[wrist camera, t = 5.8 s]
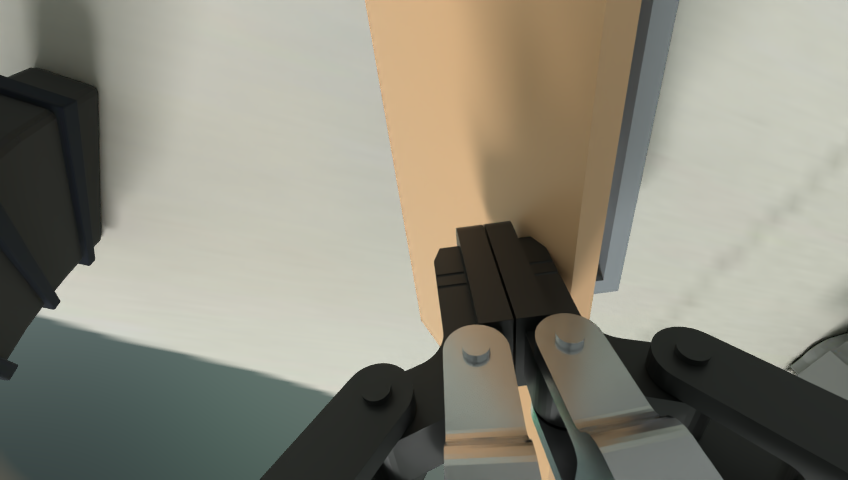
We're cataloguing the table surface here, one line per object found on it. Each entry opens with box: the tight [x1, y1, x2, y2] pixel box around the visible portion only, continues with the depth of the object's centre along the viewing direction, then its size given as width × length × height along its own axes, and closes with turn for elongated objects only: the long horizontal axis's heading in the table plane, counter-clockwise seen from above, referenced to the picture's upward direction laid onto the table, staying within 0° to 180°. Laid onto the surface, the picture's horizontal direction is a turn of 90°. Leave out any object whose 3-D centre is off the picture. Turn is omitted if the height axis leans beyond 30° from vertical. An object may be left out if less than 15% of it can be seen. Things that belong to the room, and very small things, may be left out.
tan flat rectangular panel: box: [365, 0, 642, 480], centre depth 14 cm, size 22×11×1 cm
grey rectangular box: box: [594, 0, 679, 294], centre depth 21 cm, size 22×11×6 cm, turn 7°
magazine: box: [0, 68, 101, 380], centre depth 20 cm, size 4×13×15 cm, turn 157°
